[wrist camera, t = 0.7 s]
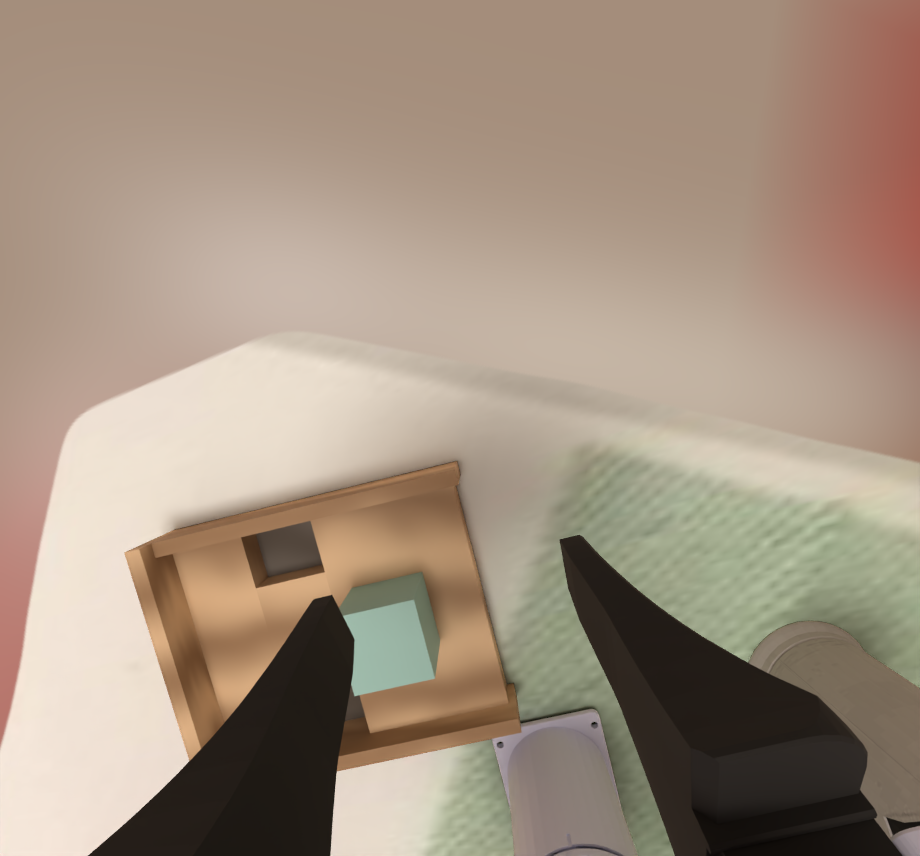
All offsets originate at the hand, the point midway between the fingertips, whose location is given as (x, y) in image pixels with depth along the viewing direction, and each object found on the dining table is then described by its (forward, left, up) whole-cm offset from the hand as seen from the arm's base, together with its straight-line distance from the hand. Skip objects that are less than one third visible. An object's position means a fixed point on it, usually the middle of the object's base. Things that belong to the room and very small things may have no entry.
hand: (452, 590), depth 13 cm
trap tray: (-8, +11, -18) cm, 22 cm away
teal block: (-8, +7, -16) cm, 19 cm away
